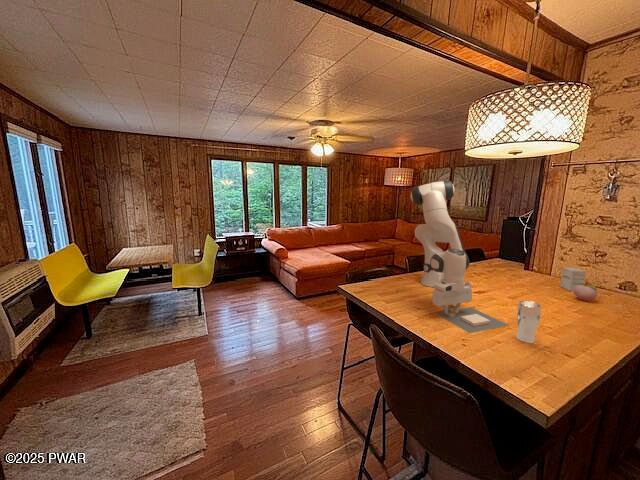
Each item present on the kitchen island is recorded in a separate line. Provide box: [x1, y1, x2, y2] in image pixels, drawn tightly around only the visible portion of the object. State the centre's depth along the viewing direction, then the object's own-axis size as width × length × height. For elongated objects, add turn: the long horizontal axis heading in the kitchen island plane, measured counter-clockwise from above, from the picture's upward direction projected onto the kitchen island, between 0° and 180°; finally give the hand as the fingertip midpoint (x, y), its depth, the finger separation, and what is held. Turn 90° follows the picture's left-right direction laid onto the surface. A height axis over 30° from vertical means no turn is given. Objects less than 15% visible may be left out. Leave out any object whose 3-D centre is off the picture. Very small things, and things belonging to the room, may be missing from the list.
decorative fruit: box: [572, 282, 598, 302], centre depth 139 cm, size 9×8×10 cm
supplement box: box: [560, 267, 587, 292], centre depth 157 cm, size 7×7×13 cm
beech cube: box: [445, 304, 460, 317], centre depth 123 cm, size 4×4×4 cm
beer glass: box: [515, 300, 542, 345], centre depth 100 cm, size 7×7×15 cm
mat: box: [435, 306, 510, 334], centre depth 119 cm, size 22×20×1 cm
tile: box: [461, 314, 490, 327], centre depth 116 cm, size 2×7×9 cm
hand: (451, 312), depth 123 cm, fingers closed on beech cube, 4 cm apart
